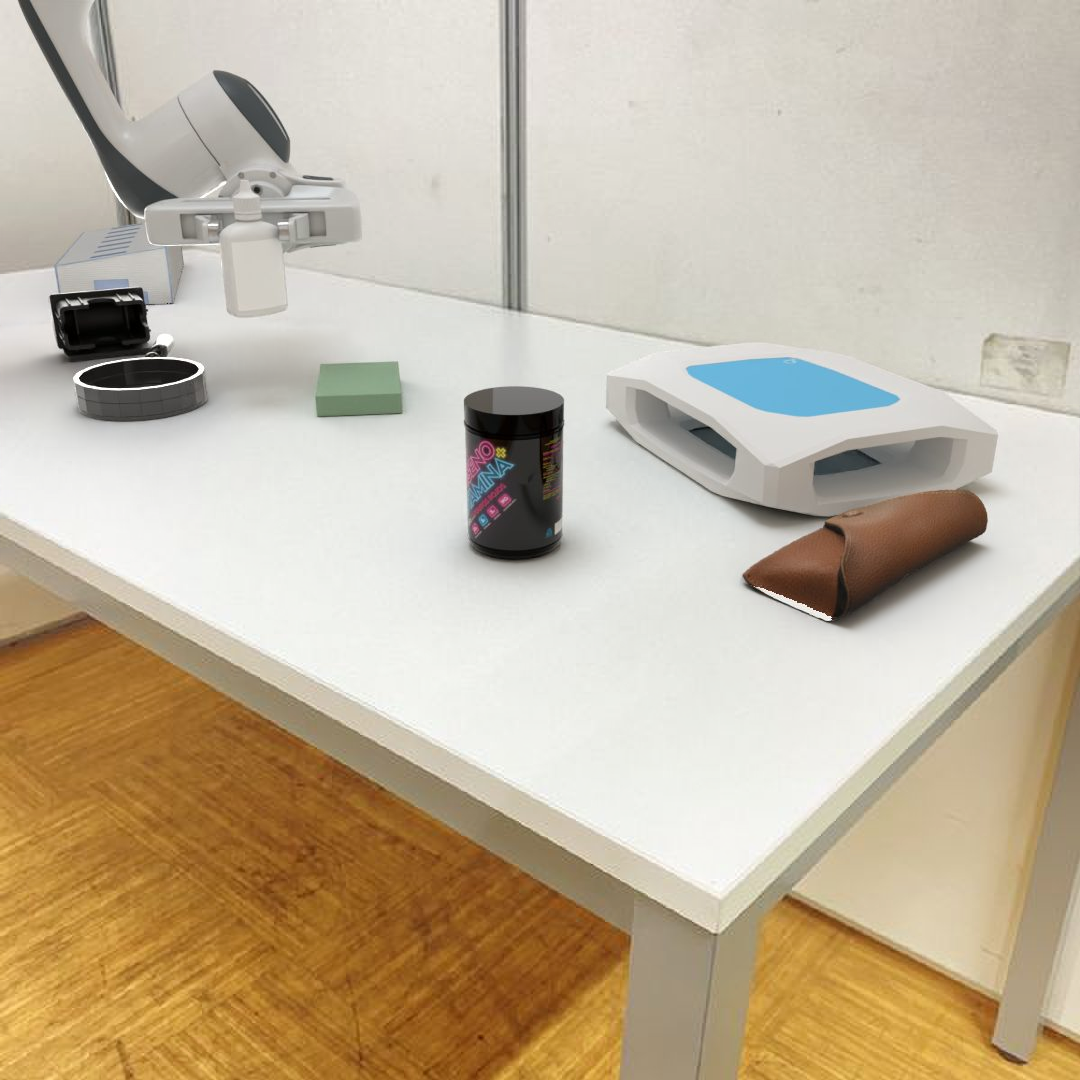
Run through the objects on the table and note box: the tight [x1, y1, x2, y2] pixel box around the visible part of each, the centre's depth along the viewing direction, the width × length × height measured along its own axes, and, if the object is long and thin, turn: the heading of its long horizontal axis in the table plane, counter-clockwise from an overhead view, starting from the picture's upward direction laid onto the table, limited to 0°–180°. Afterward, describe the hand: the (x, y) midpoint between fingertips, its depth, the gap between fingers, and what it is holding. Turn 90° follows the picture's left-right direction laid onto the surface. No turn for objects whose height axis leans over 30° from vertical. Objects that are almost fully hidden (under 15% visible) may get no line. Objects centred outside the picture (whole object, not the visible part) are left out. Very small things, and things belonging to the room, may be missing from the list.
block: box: [315, 361, 403, 417], centre depth 112 cm, size 8×12×2 cm, turn 8°
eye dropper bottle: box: [218, 180, 289, 319], centre depth 104 cm, size 4×6×12 cm
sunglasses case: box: [741, 489, 989, 621], centre depth 75 cm, size 18×7×7 cm
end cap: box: [48, 287, 152, 362], centre depth 128 cm, size 10×7×7 cm
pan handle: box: [143, 333, 175, 358], centre depth 120 cm, size 2×10×2 cm, turn 8°
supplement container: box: [463, 385, 565, 560], centre depth 77 cm, size 7×7×10 cm
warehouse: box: [53, 221, 185, 305], centre depth 164 cm, size 30×14×8 cm, turn 14°
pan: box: [72, 357, 208, 422], centre depth 110 cm, size 12×12×3 cm
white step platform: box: [605, 341, 999, 517], centre depth 96 cm, size 21×28×6 cm
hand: (249, 232), depth 103 cm, fingers closed on eye dropper bottle, 5 cm apart
